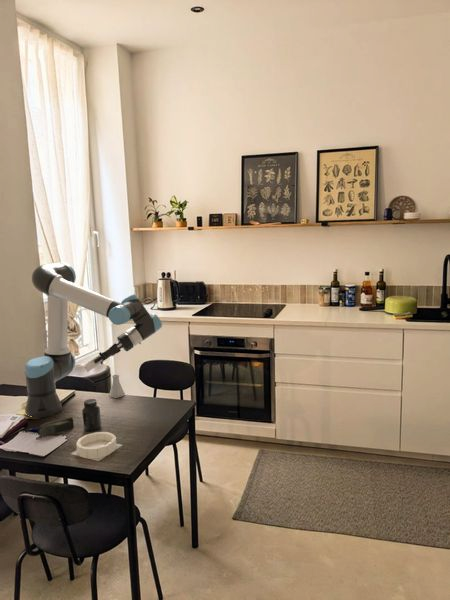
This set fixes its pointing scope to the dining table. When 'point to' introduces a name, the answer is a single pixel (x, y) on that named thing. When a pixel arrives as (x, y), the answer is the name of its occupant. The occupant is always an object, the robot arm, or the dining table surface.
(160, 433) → the dining table surface
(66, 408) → the dining table surface
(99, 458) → the mat
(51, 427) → the mobile phone
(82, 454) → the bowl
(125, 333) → the robot arm
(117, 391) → the flask
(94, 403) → the supplement bottle
